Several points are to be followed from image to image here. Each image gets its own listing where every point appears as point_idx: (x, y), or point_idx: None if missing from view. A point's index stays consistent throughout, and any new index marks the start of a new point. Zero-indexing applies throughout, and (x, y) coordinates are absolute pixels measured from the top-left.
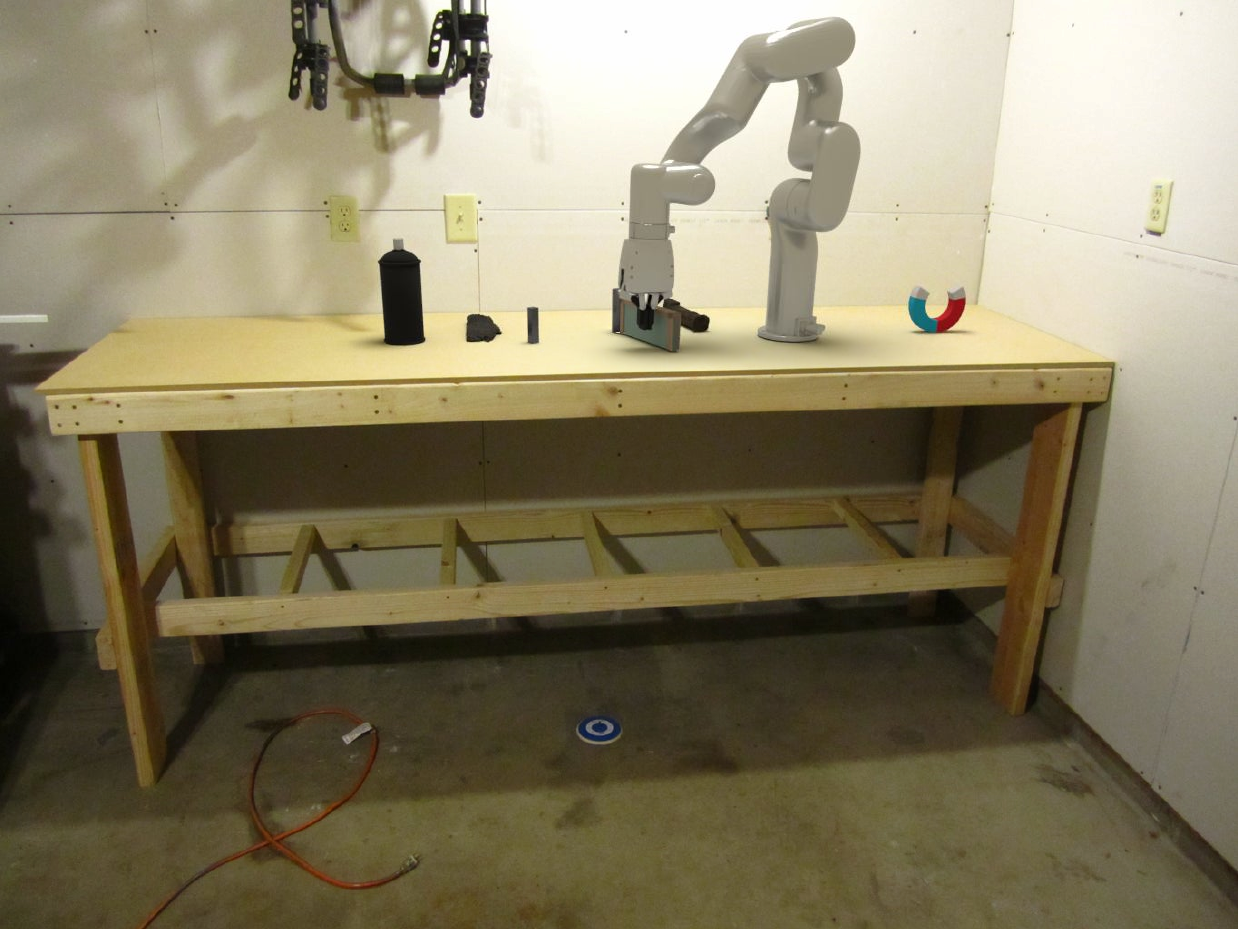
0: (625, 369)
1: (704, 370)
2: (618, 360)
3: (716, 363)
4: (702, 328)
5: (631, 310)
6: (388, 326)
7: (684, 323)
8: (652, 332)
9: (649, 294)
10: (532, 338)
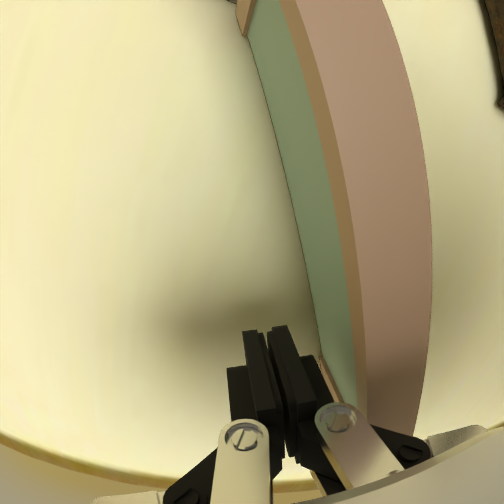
0: (148, 463)
1: None
2: (135, 413)
3: None
4: None
5: (294, 59)
6: None
7: (495, 33)
8: (321, 289)
9: (355, 487)
10: None
